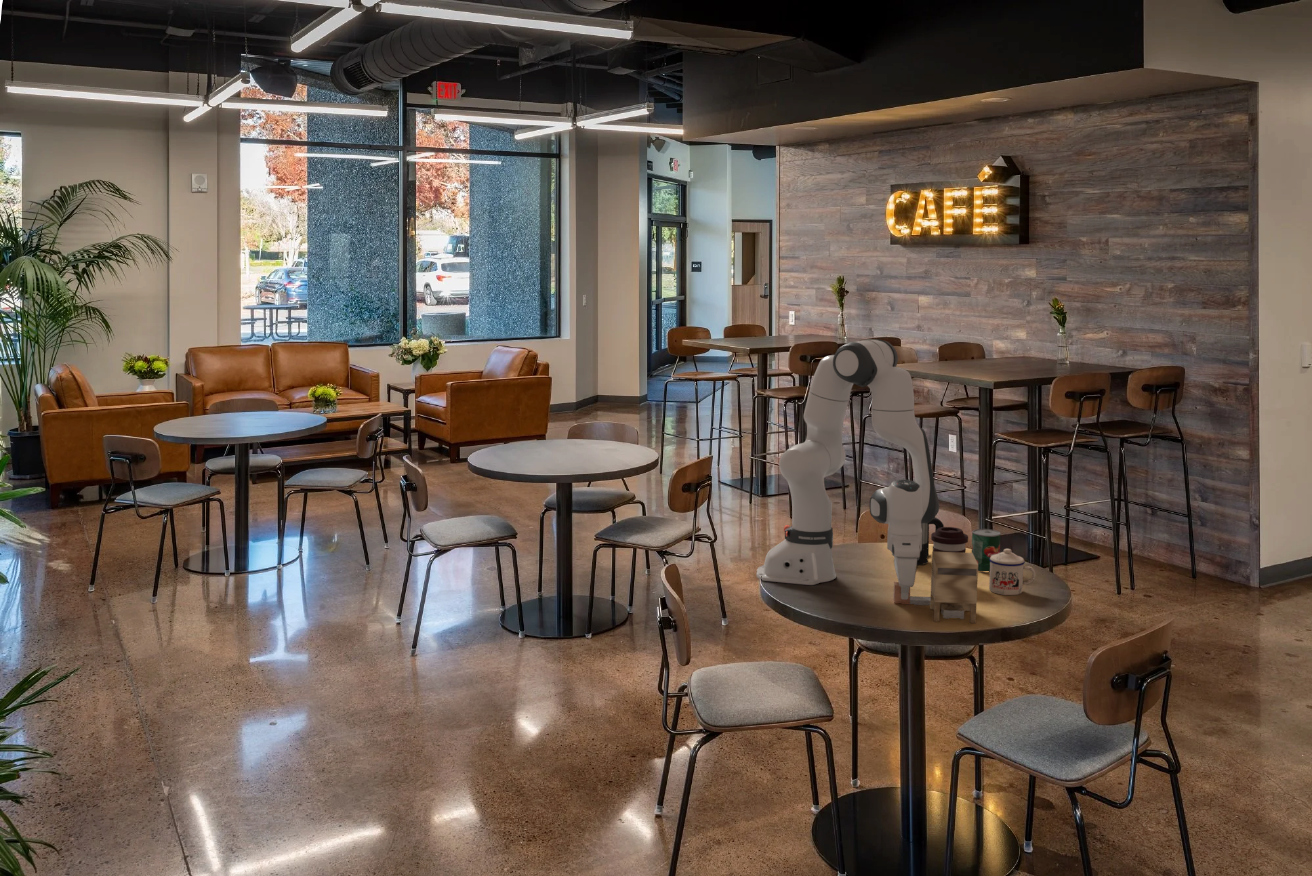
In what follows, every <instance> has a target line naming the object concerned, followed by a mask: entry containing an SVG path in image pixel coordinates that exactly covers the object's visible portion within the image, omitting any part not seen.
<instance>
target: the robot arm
mask: <svg viewBox="0 0 1312 876" xmlns="http://www.w3.org/2000/svg"><path fill="white" fill-rule="evenodd" d="M898 362H899V356H898V352H897V349H896V348H895V346H894V345H893V344H891V343H890V342H889V341H887V340H884V339H862V340H858V341H851V342H847V343H845V344H844V345H842V346H840V347H839V348H837V350H836V352H835V353H834V354H831V355H826V356H824V357H822V358H821V360H820V361H819V363H818V365H817V367H816V370H815V372H814V374H813V377H812V380H811V383H810V387H809V390H808V391H809V392H808V394H807V395H808V396H807V400H806V404H805V408H804V413H803V420H804V422H805V423H806V437H805V441H804V442H801V443H798V444H794V445H792V446H791V447H789V448H788V449H787V450H785V451H784V452H783V453H782V454H781V456H780V458H779V461H778V462H779V463H778V466H779V467H778V468H779V471H780V474H781V476H782V477H783V478H784V480H786V482H787V484H788V489H789V492H790V496H791V506H792V508H791V509H792V511H791V514H792V515H791V517H792V519H791V521H792V523H791V525H789V524H786V525H785V526H784V527H783V532H784V540H782V541H781V542H779V543H778V544H777V545H775V546H773V547H772V548H770V549H769V550H768V552H767V553H766V556H765V558H764V563H763V565H760V566H758V568H757V569H756V578H757V579H759V580H761V576H762V580H761V581H763V582H764V581H766V582H775V583H776V582H777V583H786V584H795V585H804V586H805V585H807V586H814V585H817V584H819V583H826V582H830V581H833V580H834V579H836V577H837V574H836V571H835V570H836V569H835V566H834V560H833V545H834V530H833V526H832V521H833V519H832V515H833V514H832V512H833V511H832V509H833V504H832V503H833V502H832V499H831V497H829V496H828V493H827V491H826V486H825V478H826V477H829V476H830V477H831V476H832V475H834V474H835V473H837V472H838V471H839V470H840V469H841V468H842V467H843V466H844V465H845V461H846V457H847V456H846V450H845V447H844V446H843V427H844V421H845V417H846V413H847V408H848V405H849V400H850V397H851V392H852V389H853V386H854V385H856V386H858V387H860V388H865V387H868V388H869V390H870V392H871V425H872V429H873V430H874V432H875V433H876V434H877V436H878V437H879V438H881V439H882V440H884V441H886V442H889V443H892V444H893V445H896V446H899V447H901V448H904V449H905V450H907V452H908V453H909V454H910V458H911V462H912V469H913V476H914V480H909V479H897V480H893V481H892V482H891V484H890V485H889V486H886V487H882V488H878V489H876V490H875V491H874V492H873V493H872V494H871V496H870V498H869V514H870V516H871V517H872V518H873V520H874V521H876V522H877V523H879V524H887V525H888V527H887V528H888V529H887V543H886V545H887V546H886V548H887V550H888V551H890V552H891V556H893V559H894V561H893V562H894V564H893V566H894V571H895V573H896V577H897V582H899V586H900V587H901V599H904V600H907V599H908V593H909V587H910V588H913V587H914V584H915V582H916V576H917V575H916V572H917V566H918V565H917V558H919V557H920V551H921V550H922V528H921V523H929V522H930V521H931V520H933V519H934V517H936V516H937V515H938V514H939V511H940V501H939V496H938V492H937V488H936V485H935V479H934V472H933V465H932V458H931V452H930V445H929V441H928V436H927V434H926V432H925V430H924V429H923V428H922V427H920V426H919V425H918V422H917V419H916V416H915V394H914V385H913V380H912V376H911V373H910V372H909V371H908V370H907V369H905V368H902V367H900V366H897V365H898Z"/></svg>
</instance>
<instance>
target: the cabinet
mask: <svg viewBox="0 0 1312 876" xmlns="http://www.w3.org/2000/svg"><path fill="white" fill-rule="evenodd" d="M978 575H979V572H978V563H977V561H976V559H975V557H974V555H973V553H972V552H965V553H961V552H933V550H932V552H931V575H930V577H931V578H930V597H931V599H930V605H929V606H930V607H929V608H930V610H933V621H934V622H937V621H939V622H940V612H941V610H940V609H941V604H948V605H962V607H963V609H964V612H970V615H969V616H970V617H969V623H970V624H976V623H977V622H976V621H977V601H978V600H977V599H978Z"/></svg>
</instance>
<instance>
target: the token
mask: <svg viewBox="0 0 1312 876" xmlns="http://www.w3.org/2000/svg"><path fill="white" fill-rule="evenodd" d="M940 613H941V616H942V615H943V616H942V618H943V619H949V618H960V619H959V620H965V611H964V609H963V607H962V605H948V604H941V610H940Z"/></svg>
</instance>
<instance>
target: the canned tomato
mask: <svg viewBox="0 0 1312 876" xmlns="http://www.w3.org/2000/svg"><path fill="white" fill-rule="evenodd" d="M971 532H972V533H971V534H972V535H971V536H972V537H971V553H973V555H974V557H975V559H976V561H977V563H978V571H989V572H990V557H991V556H992V555H996V554H999V553H1001V551H1000V550H1001V535H1002V533H1001V532H1000V531H999V530H995V529H989V528H977V529H973V530H972V531H971Z"/></svg>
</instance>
